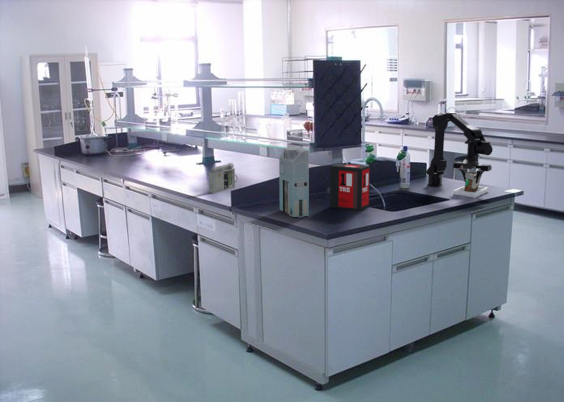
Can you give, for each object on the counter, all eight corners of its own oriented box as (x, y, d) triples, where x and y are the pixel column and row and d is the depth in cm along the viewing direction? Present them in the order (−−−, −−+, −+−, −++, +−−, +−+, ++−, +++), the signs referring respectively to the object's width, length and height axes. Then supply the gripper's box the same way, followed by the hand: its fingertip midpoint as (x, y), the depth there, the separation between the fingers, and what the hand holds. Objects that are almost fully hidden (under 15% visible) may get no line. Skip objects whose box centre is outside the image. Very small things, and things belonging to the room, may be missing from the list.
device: (279, 210, 298) (278, 147, 291) (294, 209, 300) (294, 146, 294) (292, 218, 283) (292, 151, 276) (308, 216, 285) (308, 150, 279)
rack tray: (452, 195, 329) (453, 190, 329) (466, 189, 343) (466, 185, 343) (475, 197, 322) (475, 193, 321) (488, 192, 336) (488, 187, 335)
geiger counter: (214, 167, 335) (241, 161, 355) (204, 166, 338) (232, 160, 359) (215, 193, 338) (242, 186, 358) (205, 192, 341) (232, 184, 362)
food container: (467, 187, 340) (471, 169, 337) (478, 190, 336) (482, 172, 333) (458, 191, 330) (462, 173, 327) (469, 194, 327) (473, 176, 324)
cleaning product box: (329, 206, 304) (330, 165, 300) (338, 203, 312) (338, 163, 308) (361, 210, 296) (361, 168, 292) (369, 207, 303) (370, 165, 299)
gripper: (449, 153, 327) (448, 183, 331) (484, 156, 316) (482, 187, 320) (458, 151, 336) (456, 179, 339) (492, 153, 325) (490, 183, 328)
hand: (471, 182), depth 331 cm, fingers closed on food container, 6 cm apart
